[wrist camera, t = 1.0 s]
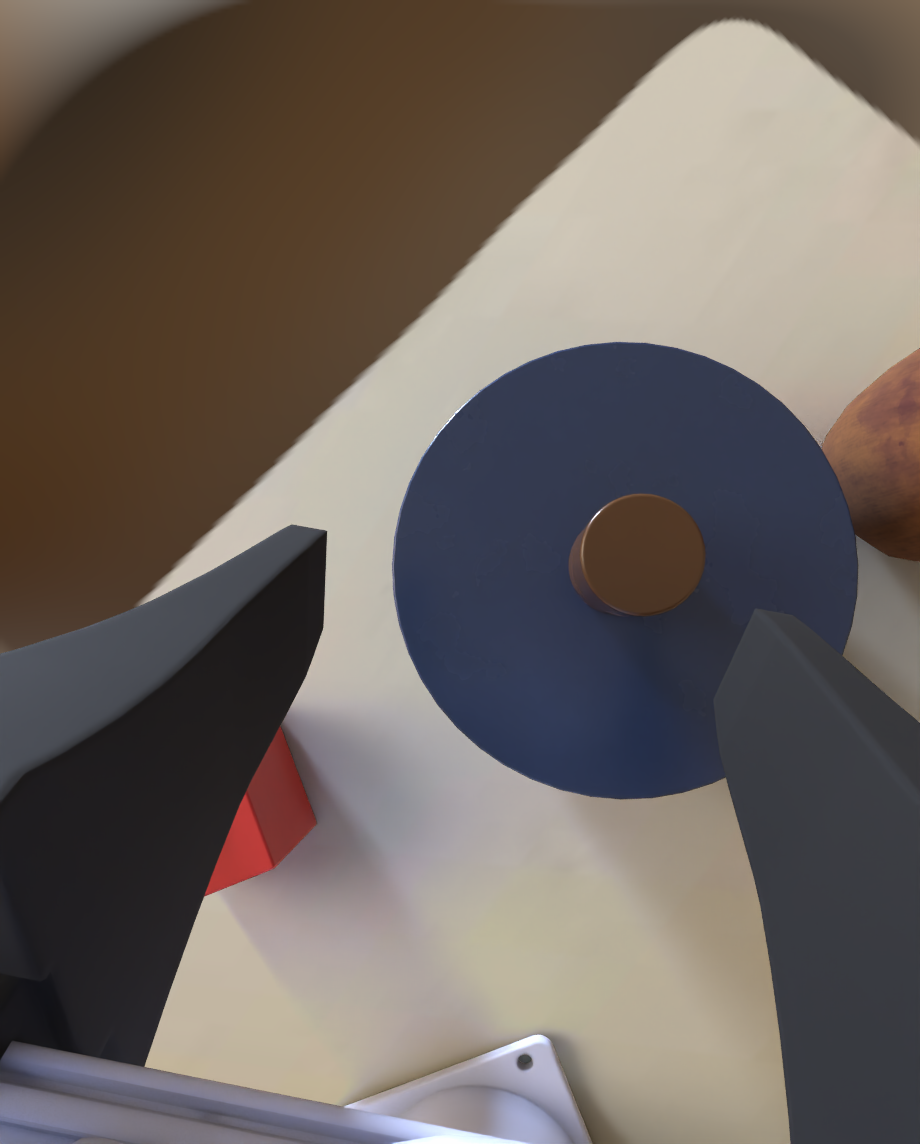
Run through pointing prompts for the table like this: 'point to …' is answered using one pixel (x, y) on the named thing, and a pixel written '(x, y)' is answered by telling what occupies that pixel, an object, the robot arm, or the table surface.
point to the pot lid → (613, 561)
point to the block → (265, 820)
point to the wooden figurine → (882, 460)
